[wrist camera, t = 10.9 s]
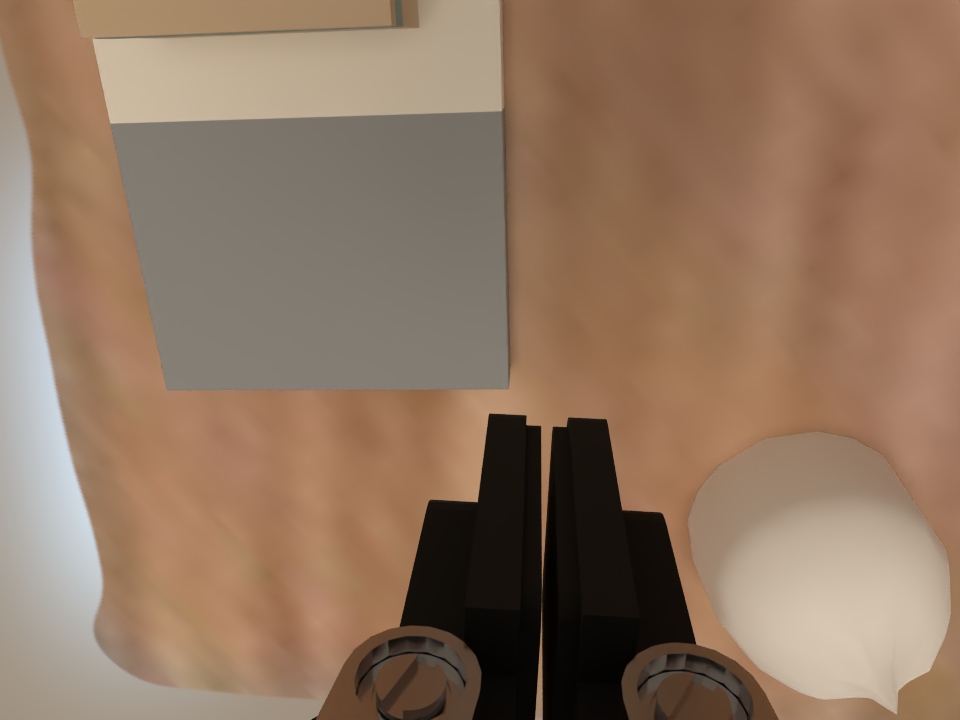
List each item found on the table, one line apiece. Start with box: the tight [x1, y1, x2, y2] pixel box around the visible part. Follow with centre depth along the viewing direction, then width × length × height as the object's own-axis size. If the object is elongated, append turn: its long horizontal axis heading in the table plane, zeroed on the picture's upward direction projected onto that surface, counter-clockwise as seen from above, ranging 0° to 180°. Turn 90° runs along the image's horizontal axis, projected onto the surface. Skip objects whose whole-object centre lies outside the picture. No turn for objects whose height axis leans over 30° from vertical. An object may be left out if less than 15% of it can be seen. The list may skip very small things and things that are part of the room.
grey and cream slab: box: [92, 0, 510, 390], centre depth 31 cm, size 26×16×2 cm, turn 2°
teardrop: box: [688, 431, 951, 715], centre depth 34 cm, size 11×11×12 cm
